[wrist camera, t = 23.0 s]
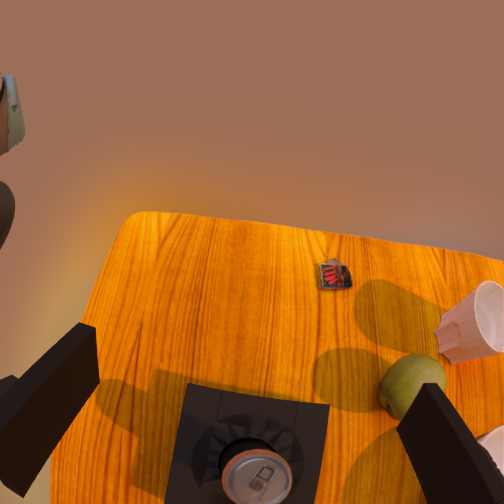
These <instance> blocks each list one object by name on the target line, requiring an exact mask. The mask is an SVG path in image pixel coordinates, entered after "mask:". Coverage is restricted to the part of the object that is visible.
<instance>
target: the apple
mask: <svg viewBox="0 0 504 504" xmlns="http://www.w3.org/2000/svg"><path fill="white" fill-rule="evenodd" d="M423 383H437V384H438V385H439V387H440V388H441V389H442V391H443V392H445V389H446V386H447V376H446V372H445V370H444V368H443V367H442V366H441V364H440V363H439V362H438V361H437V360H435V359H433V358H432V357H430V356H427V355H424V354H410V355H407V356H404V357H402V358H401V359H399V360H398V361H397V362H395V363H394V364H393V365H392V366H391V367H390V369H389V370H388V371H387V372H386V374H385V375H384V377H383V378H382V380H381V382H380V385H379V388H378V398H379V401H380V403H381V405H382V406H383V407H384V409H385V410H386V411H387V413H388V414H389V416H391V417H392V418H394V419H397V420H402V419H403V417H404V416H405V414H406V412H407V411H408V409H409V407H410V406H411V404H412V402H413V401H414V399H415V397H416V395H417V394H418V392H419V390H420V388H421V387H422V385H423Z"/></svg>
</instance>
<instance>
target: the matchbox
mask: <svg viewBox="0 0 504 504" xmlns="http://www.w3.org/2000/svg"><path fill="white" fill-rule="evenodd" d="M327 262H328V263H327ZM326 263H327V264H324V263H320V272H321V277H320V278H321V279H322V285H321V284H319V287H320V289H321V290H322V286H323V288H325V289H328V288H329V289H330V288H331V289H334V288H341V289H345V288H348V287H351V286H353V285H352V279H351V275H350V272H349V270H348V268H347V266H346V265H341V262H340V261H339V259H338V260H336V258H333V259H330V260H327V261H326ZM338 264H339V265H338Z"/></svg>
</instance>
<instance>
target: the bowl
mask: <svg viewBox="0 0 504 504" xmlns="http://www.w3.org/2000/svg"><path fill="white" fill-rule="evenodd" d="M475 439H476V441H477V442H478V443H480V444H481V445H482V446H483V447H484V448H485V449H486V450H488V452H489V454H490V455H491V457H492V458H493V461H495V463H496V465H497V468H499V469H500V471H501V473H502V474H503V476H504V425H502V426H500V427H498V428H496V429H494V430H493V431H491V432H490V433H486V434H483V435H481V436H478V437H477V438H475Z"/></svg>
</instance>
